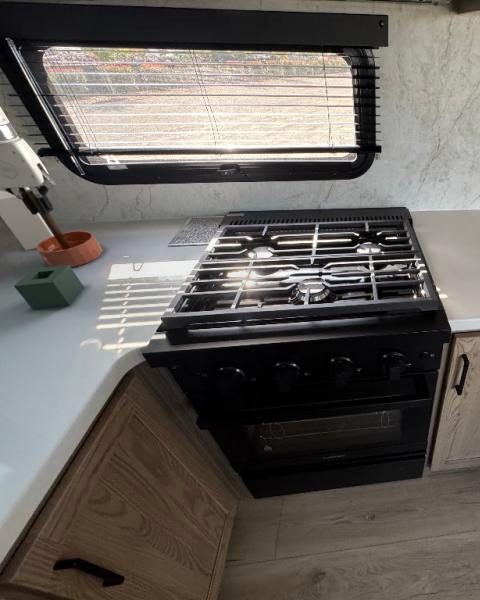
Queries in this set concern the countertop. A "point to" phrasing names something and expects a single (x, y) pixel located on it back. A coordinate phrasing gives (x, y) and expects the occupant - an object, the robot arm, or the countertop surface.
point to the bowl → (78, 254)
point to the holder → (49, 287)
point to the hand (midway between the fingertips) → (43, 211)
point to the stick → (49, 222)
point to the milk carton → (23, 221)
